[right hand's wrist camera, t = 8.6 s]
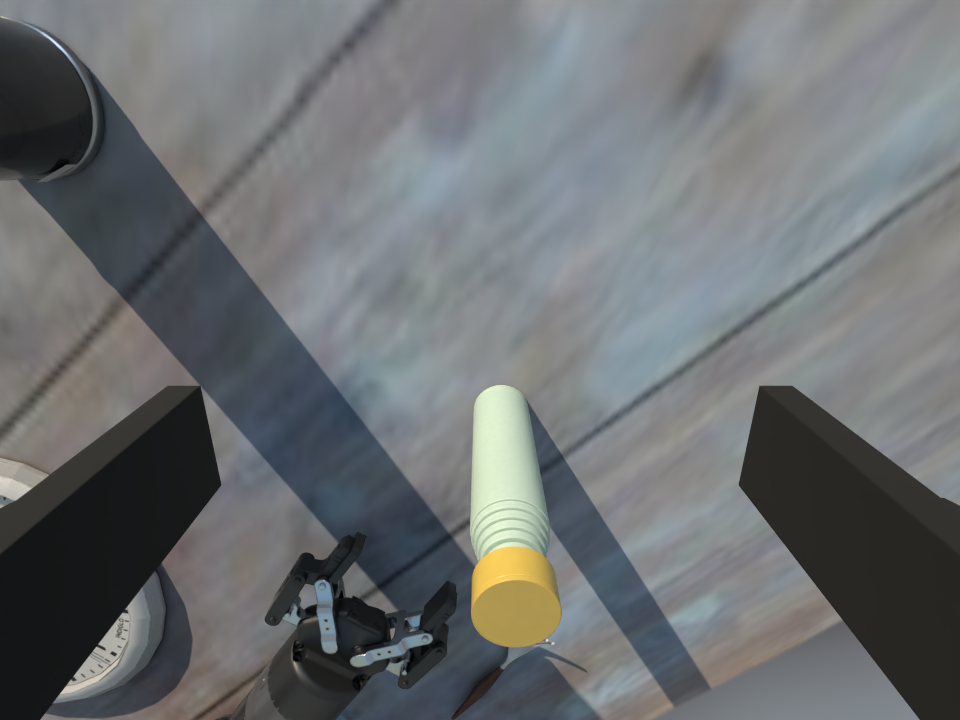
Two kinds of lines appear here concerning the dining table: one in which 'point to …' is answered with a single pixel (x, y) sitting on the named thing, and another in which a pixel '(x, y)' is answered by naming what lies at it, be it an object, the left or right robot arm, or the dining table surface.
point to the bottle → (506, 476)
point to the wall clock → (128, 636)
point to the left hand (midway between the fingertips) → (407, 566)
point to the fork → (495, 676)
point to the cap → (515, 597)
